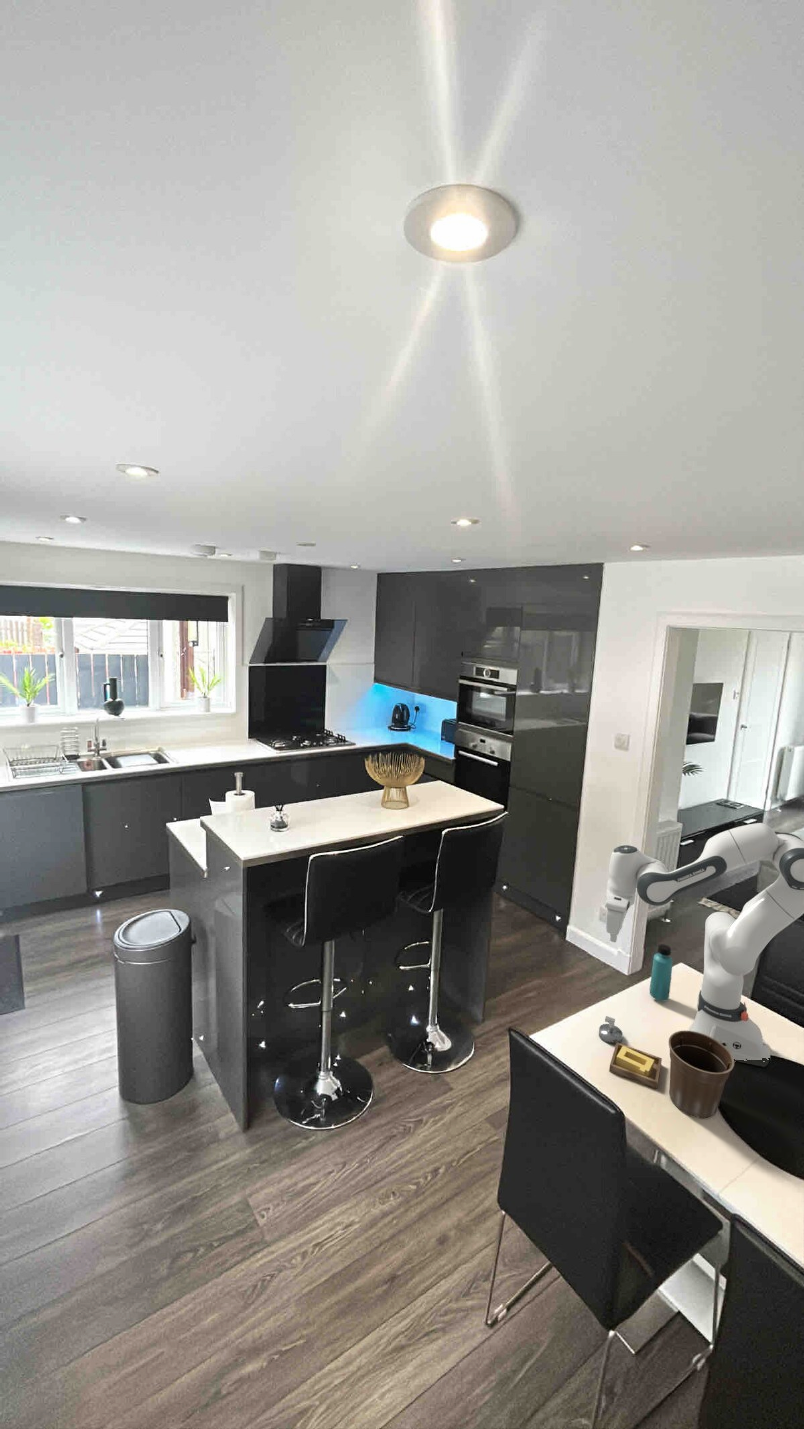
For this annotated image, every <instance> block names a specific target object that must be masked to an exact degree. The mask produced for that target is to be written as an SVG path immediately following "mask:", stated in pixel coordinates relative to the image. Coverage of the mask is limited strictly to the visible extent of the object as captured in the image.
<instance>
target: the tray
mask: <svg viewBox="0 0 804 1429" xmlns="http://www.w3.org/2000/svg"><path fill="white" fill-rule="evenodd" d="M622 1046H625V1047H627V1048H629V1049H631V1050H633V1051H636V1052H638V1053H640V1054H642V1055H644V1056H647V1057H649V1058H651V1059H653V1060H654V1066H653V1069H652V1071H651V1073H650V1075H649V1077H646V1076H643V1075H640V1074H638V1073H635V1072H632V1071H630V1070H627V1069H625V1068H623V1067H621V1066H619V1065H617V1064H616V1057H617V1055H618V1053H619V1052H620V1050H621V1048H622ZM662 1060H663V1058H662V1057H659V1056H656V1055H653V1054H651V1053H648V1052H645V1051H643V1050H639V1049H636V1048H634V1047H631V1046H629V1045H625V1044H623V1043H616V1045H615V1046H614V1050H613V1054H612V1056H611V1060H610V1063H609V1069H608V1072H610V1073H612V1074H614V1075H617V1076H620V1077H623V1078H625V1079H628V1080H631V1081H634V1082H636V1083H639V1084H641V1085H643V1086H646V1087H649V1088H652V1089H655V1090H657V1089H658V1083H659V1078H660V1073H661V1067H662Z"/></svg>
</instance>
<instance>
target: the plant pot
mask: <svg viewBox="0 0 804 1429" xmlns="http://www.w3.org/2000/svg"><path fill="white" fill-rule="evenodd" d="M668 1048H669V1058H670V1063H669V1064H670V1067H669V1083H668V1084H669V1087H668V1088H669V1089H668V1094H669V1098H670V1101H671V1102H672V1103H673V1105H674V1106H675V1107H676V1108H677V1109H679V1110H680V1111H681V1112H682V1113H685V1114H686V1115H688V1116H689V1117H698V1118H699V1119H700V1120H703V1119H705V1120H706V1119H710V1118H713V1117H714V1116H715V1115H716V1114H717V1112H718V1108H719V1105H720V1102H721V1099H722V1098H721V1097H722V1095H723V1091H724V1089H725V1084H726V1082H727V1080H728V1079H729V1076H730V1073H731V1071H732V1070H733V1069H734V1068H735V1067H734V1066H735V1061H734V1058H733V1056H732V1054H731V1053H730V1051H729V1050H728V1049H727V1048H726V1047H725V1046H724V1045H722V1044H721V1043H720V1042H718V1041H717V1040H715V1039H714V1038H712V1037H710V1036H707V1035H705V1034H702V1033H699V1032H694V1031H690V1030H678V1031H675V1032H674V1033H672V1034H671V1035H670V1036H669V1038H668Z"/></svg>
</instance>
